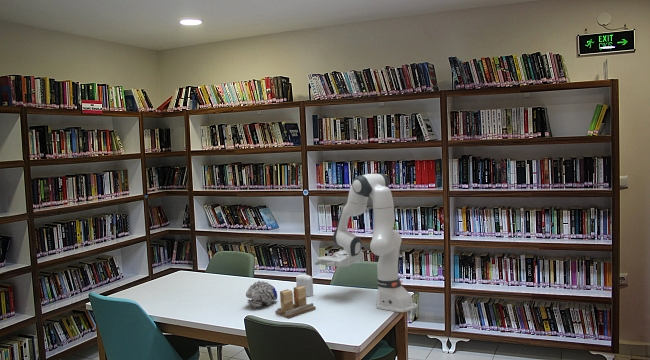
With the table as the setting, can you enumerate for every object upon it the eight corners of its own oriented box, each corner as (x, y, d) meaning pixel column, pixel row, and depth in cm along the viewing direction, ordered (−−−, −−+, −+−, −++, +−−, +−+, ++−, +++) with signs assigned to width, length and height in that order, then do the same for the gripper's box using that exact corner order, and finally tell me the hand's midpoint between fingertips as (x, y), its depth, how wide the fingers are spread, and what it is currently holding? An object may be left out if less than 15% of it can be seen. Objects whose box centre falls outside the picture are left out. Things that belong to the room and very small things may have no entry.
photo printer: (314, 295, 306) (313, 274, 305) (310, 297, 302) (309, 276, 301) (299, 293, 311) (298, 273, 310) (295, 295, 307) (294, 274, 306)
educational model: (278, 313, 294) (284, 287, 298) (256, 307, 279) (263, 279, 283) (259, 309, 302) (266, 283, 306) (237, 303, 286) (244, 276, 291)
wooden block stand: (315, 309, 279) (314, 286, 278) (289, 318, 268) (287, 294, 267) (301, 305, 288) (300, 283, 287) (275, 313, 277) (273, 290, 276)
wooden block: (306, 306, 280) (305, 286, 280) (298, 309, 277) (297, 289, 276) (302, 305, 283) (300, 285, 283) (293, 307, 280) (292, 287, 279)
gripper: (326, 252, 305) (308, 257, 296) (351, 255, 290) (332, 260, 281) (327, 263, 306) (309, 268, 297) (352, 266, 290) (333, 271, 281)
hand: (321, 264), depth 289 cm, fingers open, 8 cm apart
